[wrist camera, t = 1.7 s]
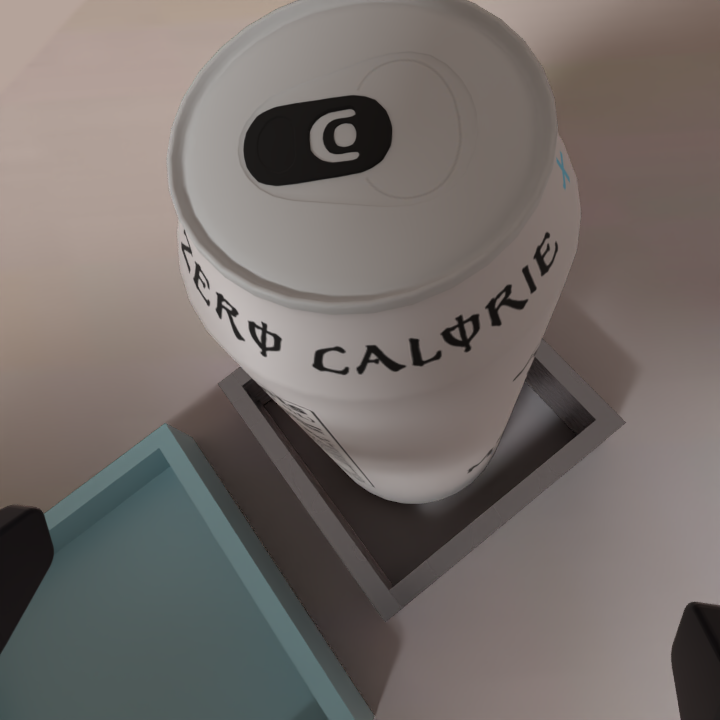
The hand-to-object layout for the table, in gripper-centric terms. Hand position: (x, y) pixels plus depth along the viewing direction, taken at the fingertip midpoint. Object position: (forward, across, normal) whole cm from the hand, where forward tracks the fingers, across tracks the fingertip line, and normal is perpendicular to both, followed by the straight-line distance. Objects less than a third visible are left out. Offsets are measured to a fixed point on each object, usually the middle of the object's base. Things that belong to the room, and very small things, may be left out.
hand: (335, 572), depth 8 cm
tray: (+6, +8, +12) cm, 15 cm away
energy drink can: (+12, 0, +5) cm, 13 cm away
